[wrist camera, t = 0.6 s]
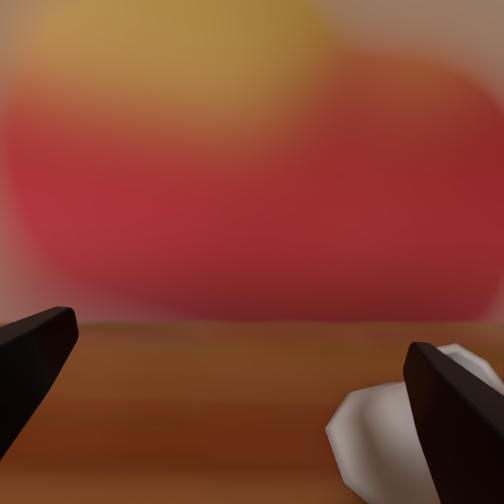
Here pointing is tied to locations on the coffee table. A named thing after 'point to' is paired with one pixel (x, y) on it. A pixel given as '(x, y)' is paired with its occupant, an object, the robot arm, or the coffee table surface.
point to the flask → (390, 438)
